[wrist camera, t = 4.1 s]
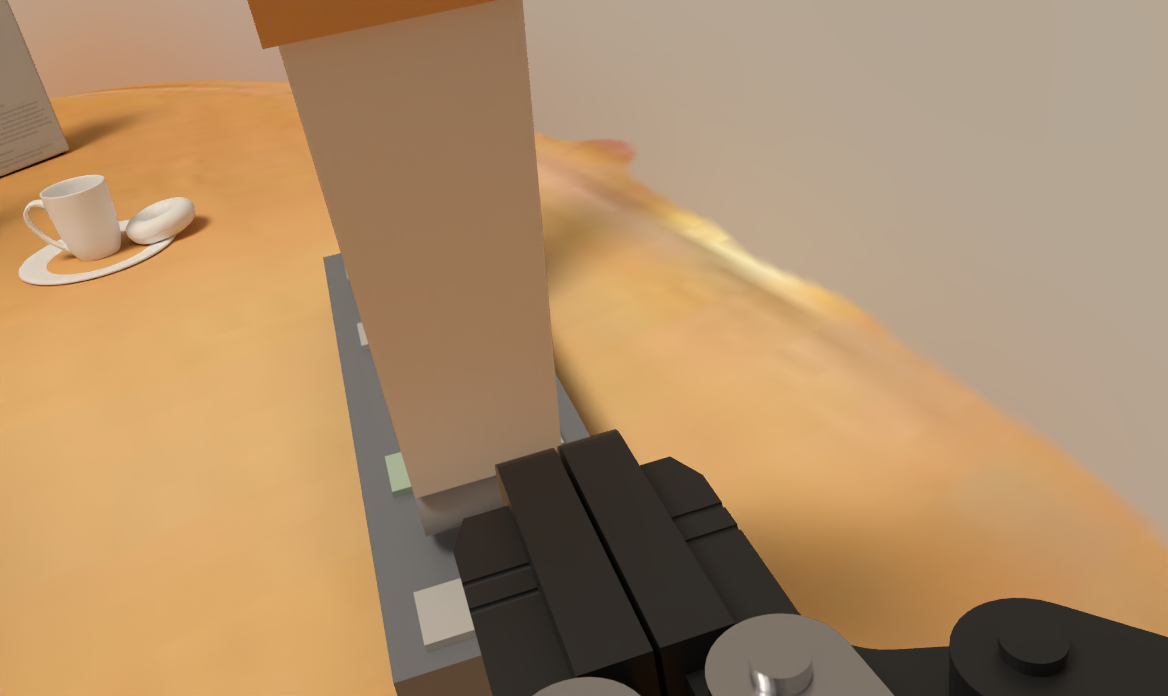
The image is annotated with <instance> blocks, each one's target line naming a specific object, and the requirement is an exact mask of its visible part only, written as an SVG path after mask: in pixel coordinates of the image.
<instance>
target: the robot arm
mask: <svg viewBox="0 0 1168 696" xmlns="http://www.w3.org/2000/svg"><path fill="white" fill-rule="evenodd" d="M495 471H496V476H497V481H498V485H499V489H500V493H501V497H502V502H503V506H504V507H501V508H498V509H494V510H491V511H488V512H484V513H481V514H478V515H474V516H471V517H468V518H464V519H463V522H462V525H461V528H460V531H459V534H458V538H457V541H456V544H455V547H454V550H453V553H454V556H455V560H456V564H457V567H458V571H459V575H460V578H461V582H462V586H463V589H464V593H465V597H466V600H467V604H468V607H469V611H470V615H471V618H472V622H473V626H474V629H475V633H476V637H477V640H478V644H479V648H480V651H481V655H482V659H483V662H484V666H485V670H486V673H487V677H488V681H489V684H490V688H491V691H492V695H493V696H1168V637H1165V636H1162V635H1159V634H1155V633H1152V632H1149V631H1145V630H1142V629H1139V628H1135V627H1132V626H1128V625H1125V624H1122V623H1118V622H1115V621H1112V620H1108V619H1105V618H1102V617H1098V616H1095V615H1091V614H1088V613H1085V612H1081V611H1078V610H1075V609H1071V608H1068V607H1065V606H1061V605H1058V604H1055V603H1050V602H1046V601H1042V600H1036V599H1028V598H1008V599H999V600H995V601H991V602H987V603H984V604H982V605H979V606H977V607H975V608H973V609H972V610H970V611H968V612H967V613H966V614H965V615H963V616H962V617H961V618H960V619H959V620H958V622H957V623H956V625H955V626H954V628H953V631H952V633H951V636H950V645H949V646H947V647H930V648H914V649H897V650H877V649H868V648H861V647H857V646H852V645H850V644H849V643H848V641H847V640H846V639H845V638H844V637H843V636H841V635H840V634H839V633H838V632H837V631H835V630H834V629H833V628H831V627H830V626H828V625H826V624H824V623H822V622H820V621H818V620H815V619H812V618H809V617H805V616H801V615H800V613H799V612H798V611H797V610H796V608H795V607H794V605H793V604H792V602H791V601H790V599H789V598H788V597H787V595H786V594H785V592H784V591H783V589H782V588H781V587H780V585H779V584H778V582H777V581H776V579H775V578H774V577H773V575H772V574H771V572H770V571H769V569H768V568H767V566H766V565H765V564H764V562H763V561H762V559H761V558H760V556H759V555H758V554H757V552H756V551H755V549H754V548H753V546H752V545H751V544H750V542H749V541H748V539H747V538H746V536H745V535H744V533H743V532H742V531H741V530H739V529H738V527H737V523H736V522H735V521H734V519H733V518H732V516H731V515H730V513H729V512H728V511H727V509H726V508H725V507H724V508H723V506H722V502H721V500H720V499H719V498H718V496H717V495H716V493H715V492H714V490H713V489H712V488H711V486H710V485H709V483H708V482H707V480H706V479H705V478H704V476H703V475H702V474H700V473H698V472H697V471H695V470H693V469H691V468H689V467H688V466H686V465H684V464H682V463H681V462H679V461H677V460H675V459H674V458H672V457H667V458H663V459H660V460H657V461H653V462H650V463H647V464H643V465H640V466H639V464H638V462H637V461H636V459H635V458H634V456H633V454H632V453H631V451H630V449H629V448H628V446H627V444H626V443H625V441H624V439H623V438H622V436H621V435H620V433H619V432H618V431H617V430H616V429H614V430H611V431H607V432H604V433H601V434H597V435H594V436H590V437H587V438H583V439H580V440H577V441H573V442H570V443H566V444H563V445H560V446H557V452H556V450H555V449H554V448H550V449H547V450H543V451H540V452H536V453H533V454H530V455H526V456H523V457H519V458H516V459H512V460H509V461H506V462H502V463H499V464H495Z"/></svg>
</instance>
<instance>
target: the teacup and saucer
mask: <svg viewBox="0 0 1168 696" xmlns="http://www.w3.org/2000/svg"><path fill="white" fill-rule="evenodd" d="M40 197H41V200H34V201H32V202H30V203H29V204H28V205H27V206H26V208H25V210H24V212H23V218H24V221H25V223H26V224H27V225H28V227H29V228H30V229H31V230H32V231H33V232H34V233H35V234H36V235H37V236H39V237H40V238H41V239H43V240H44V241H46V242H47V243H49V244H50V245H48V246H46V247H44V248H43V249H41V250H39V251H38V252H36V253H35V254H33V255H32V256H30V257H29V258H28V259H27V260H26V261H25V262H24V263H23V264H22V265H21V267H20V269H19V277H20V278H21V279H22V280H23V281H25V282H27V283H30V284H35V285H60V284H68V283H74V282H80V281H85V280H89V279H93V278H97V277H101V276H104V275H107V274H111V273H114V272H117V271H119V270H122V269H125V268H127V267H130V266H132V265H135V264H137V263H139V262H141V261H143V260H145V259H147V258H149V257H151V256H153V255H154V254H156V253H158V252H159V251H161V250H162V249H164V248H165V247H166V246H167V245H169V244H170V243H171V242H172V241H173V240H174V238H175V237H176V235H177V233H179V232H180V231H182V230H183V229H185V228H186V227H187V226H188V225H189V224H190V223H191V222H192V220H193V219H194V216H195V207H194V205H193V203H192V202H191V201H190V200H189V199H186V198H183V197H175V198H170V199H166V200H163V201H159V202H157V203H155V204H152V205H150V206H148V207H146V208H145V209H143V210H141V211H140V212H138V213H137V214H136V215H135V216H133V217H132V218H131V219H130V220H125V221H119V222H118V218H117V215H116V211H115V208H114V205H113V202H112V199H111V196H110V193H109V189H108V186H107V183H106V181H105V178H104V177H103V176H101V175H86V176H80V177H75V178H71V179H68V180H64V181H61V182H59V183H56V184H54V185H52V186H50V187H48V188H46V189H44V190H43V191H42V192H41V193H40ZM35 206H36V207H40V208H43V209H45V210H46V211H47V212H48V214H49V216H50V218H51V220H52V222H53V224H54V226H55V228H56V230H57V231H58V233H59V235H60V237H61V238H62V239H61V240H58V241H55V240H53V239H51V238H50V237H48V236H46V235H45V234H44V233H42V232H41V231H40V230H39V229H38V228H37V227H36V226H35V225H34V224H33V223H32V221H31V220H30V218H29V216H28V211H29V209H30V208H31V207H35ZM121 231H126V233H127V236H128V237H129V238H130V239H131V240H132V241H134V242H135V243H138V244H150V245H149V246H148V247H147V248H146V249H145V250H143V251H142V252H140V253H139V254H137V255H135V256H133V257H131V258H129V259H127V260H125V261H123V262H120V263H118V264H115V265H112V266H109V267H106V268H103V269H99V270H95V271H91V272H86V273H80V274H72V275H58V274H53V273H50V272H49V271H48V270H47V269H46V266H47V263H48V262H49V261H50V260H51V259H52V258H53V257H54V256H55V255H57V254H58V253H60V252H62V251H63V250H64V251H67V252H70V253H72V254H73V255H74V256H75V257H76V258H78V259H79V260H80V261H94V260H99V259H102V258H105V257H108V256H110V255H112V254H114V253H116V252H117V251H118V250H119V249H120V246H121Z"/></svg>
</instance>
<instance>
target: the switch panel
mask: <svg viewBox="0 0 1168 696" xmlns="http://www.w3.org/2000/svg"><path fill="white" fill-rule="evenodd" d="M323 259H324V265H325V271H326V277H327V283H328V289H329V295H330V301H331V307H332V313H333V319H334V325H335V331H336V337H337V343H338V349H339V355H340V362H341V368H342V374H343V380H344V386H345V392H346V398H347V404H348V410H349V416H350V422H351V428H352V434H353V440H354V446H355V452H356V458H357V465H358V471H359V477H360V483H361V489H362V495H363V501H364V507H365V513H366V519H367V525H368V531H369V537H370V543H371V549H372V555H373V562H374V568H375V574H376V580H377V586H378V592H379V598H380V604H381V610H382V616H383V622H384V628H385V634H386V640H387V646H388V652H389V658H390V665H391V671H392V677H393V683H394V686H395V689H396V692H397V695H398V696H493V695H492V691H491V688H490V684H489V681H488V677H487V673H486V670H485V666H484V662H483V659H482V655H481V651H480V648H479V644H478V640H477V637H476V633H475V629H474V626H473V622H472V618H471V615H470V611H469V607H468V604H467V600H466V597H465V593H464V589H463V586H462V582H461V578H460V575H459V571H458V567H457V564H456V560H455V556H454V553H453V550H454V547H455V544H456V541H457V538H458V534H459V531H460V528H461V526H460V527H457V528H454V529H450V530H447V531H444V532H440V533H437V534H433V535H430V536H427V537H426V534H425V531H424V528H423V524H422V521H421V517H420V514H419V510H418V506H417V503H416V499H415V496H414V493H413V490H412V487H411V483H410V480H409V477H408V473H407V470H406V467H405V463H404V460H403V457H402V453H401V450H400V447H399V443H398V440H397V437H396V434H395V430H394V427H393V424H392V420H391V417H390V414H389V410H388V407H387V404H386V400H385V397H384V394H383V390H382V387H381V384H380V381H379V377H378V374H377V371H376V367H375V364H374V361H373V357H372V354H371V351H370V347H369V344H368V341H367V338H366V334H365V331H364V328H363V324H362V321H361V318H360V314H359V311H358V308H357V304H356V301H355V298H354V294H353V291H352V288H351V285H350V281H349V278H348V275H347V271H346V268H345V265H344V261H343V258H342V255H341V253H340V254H336V255H332V256H328V257H324V258H323ZM555 377H556V388H557V399H558V411H559V422H560V434H561V445H563V444H566V443H570V442H573V441H577V440H580V439H583V438H587V437H590V434H589V433H588V431H587V429H586V427H585V425H584V424H583V422H582V420H581V418H580V416H579V415H578V413H577V411H576V409H575V407H574V405H573V404H572V402H571V400H570V398H569V396H568V395H567V393H566V391H565V389H564V387H563V386H562V384H561V382H560V380H559V378H558V377H557V375H556V373H555Z"/></svg>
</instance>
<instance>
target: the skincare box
mask: <svg viewBox="0 0 1168 696" xmlns="http://www.w3.org/2000/svg"><path fill="white" fill-rule="evenodd" d="M68 150H69V146H68V144H67V141H66V139H65V137H64V134H63V132H62V129H61V127H60V125H59V122H58V120H57V117H56V115H55V113H54V110H53V108H52V105H51V103H50V101H49V98H48V96H47V93H46V91H45V89H44V86H43V84H42V81H41V79H40V77H39V74H38V72H37V69H36V67H35V64H34V62H33V60H32V57H31V55H30V52H29V50H28V48H27V45H26V43H25V40H24V38H23V36H22V33H21V31H20V28H19V26H18V24H17V21H16V19H15V17H14V14H13V12H12V10H11V7H10V5H9V3H8V1H7V0H0V176H3V175H6V174H8V173H11V172H14V171H16V170H19V169H21V168H24V167H26V166H29V165H32V164H34V163H37V162H39V161H42V160H45V159H47V158H50V157H52V156H55V155H58V154H60V153H63V152H65V151H68Z"/></svg>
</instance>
